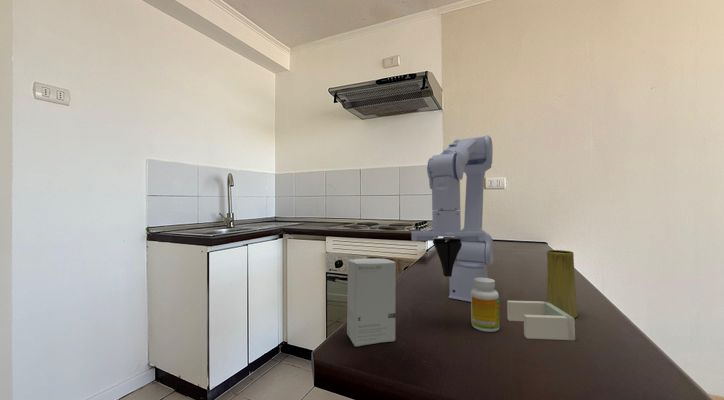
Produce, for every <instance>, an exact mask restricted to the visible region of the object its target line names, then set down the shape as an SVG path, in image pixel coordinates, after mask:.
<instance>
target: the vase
mask: <svg viewBox="0 0 724 400" xmlns="http://www.w3.org/2000/svg"><path fill="white" fill-rule="evenodd" d="M574 257H575V256H574V251H570V250H562V249H548V250H546V261H547V262H546V264H547V266H546V267H547V268H546V269H547V270H546V302H549V303H551V304H552V305H554V306H555V307H557V308H559V309H560V310H562V311H563V312H565V313H567V314H568V315H570V316H571V317H573V318H574V319H575V318H577V317H578V316H579V315H578V306H577V305H578V304H577V294H576V293H577V292H576V290H577V289H576V281H575V280H576V276H575V259H574Z"/></svg>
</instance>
